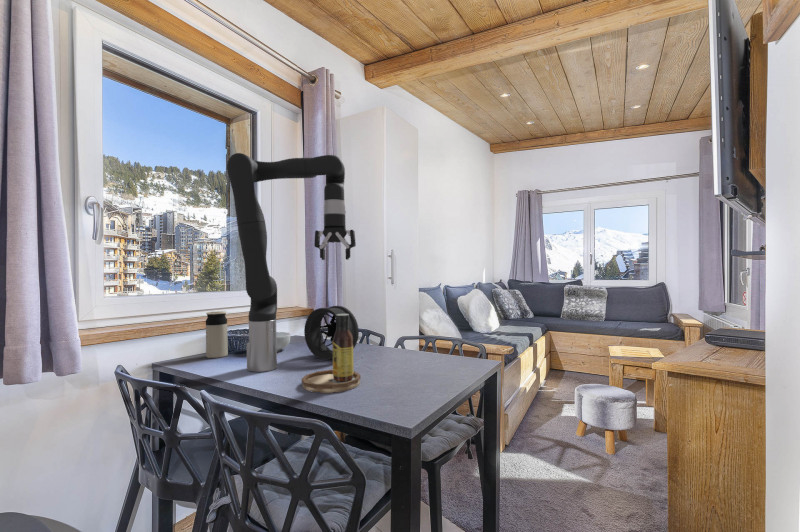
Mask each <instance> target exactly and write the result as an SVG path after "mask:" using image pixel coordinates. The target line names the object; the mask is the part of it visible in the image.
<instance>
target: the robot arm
mask: <svg viewBox="0 0 800 532" xmlns="http://www.w3.org/2000/svg"><path fill="white" fill-rule="evenodd" d="M226 170H227V172H226V173H227V175H228V178H229V183H230V186H231V190H232V194H233V201H234V209H235V217H236V225H237V229H238V230H237V231H238V238H239V242H240V248H241V254H242V256H243V261H244V262H243V263H244V273H245V274H244V275H245V291H246V293H247V294H246V295H247V296H248V297H249V298H250V308H249V312H248V342H247V343H246V371H247V372H248V371H250V372H253V373H254V372H255V373H256V372H257V373H259V372H261V373H262V372H268V371H269V372H270V371H273V370H275V369H277V368H278V359H277V358H278V351H277V340H276V332H277V311H278V285H277V281H276V280H275V279H274V278H273V277H272V276H270V272H269V271H270V270H269V268H268V261H267V251H268V233H267V225H266V219H265V216H264V212H263V210H262V208H261V205H260V202H259V200H258V197H257V195H256V190H255V184H254V183H259V182H263V181H264V182H265V181H270V180H281V179H283V180H284V179H314V178H316V177H318V176H325V186H324V188H323V190H324V192H323V193H324V194H323V195H324V196H323V197H324V198H323V199H324V201H323V230H315V231H314V247H315V248H317V249H319V258H320V259H321V260H322V261H325V260H326V249H325V248H326V247H327V246H329V243H332V244H333V243H334V244H335V243H342V244H343V245H344V247H345V260H347V261H349V260H350V258H351V249H352V248H355V247H356V233H355V230H354V229H350V230H347V228H346V211H347V210H346V205H345V187H344V186H345V177H346V176H345V175H346V169H345V165H344V163H343V161H342V159H341V158H340V157H339V156H337V155H335V154H325V155H320V156H315V157H293V158H292V157H291V158H286V159H282V160H279V161H278V160H277V161H262V160H261V161H259V160H254V159H253V158H252V157H250V156H248V155H247V154H244V153H241V152H236V153H233V154H231V155H230V156H229V158H228V160H227V163H226ZM347 235H348V237H349V239H350V244H349V242H348V241H347V239H346V238H345V237H346V236H347ZM322 236H324V239H323V240H322V242H321V237H322ZM320 242H321V243H320Z"/></svg>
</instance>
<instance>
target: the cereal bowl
mask: <svg viewBox="0 0 800 532" xmlns="http://www.w3.org/2000/svg"><path fill="white" fill-rule="evenodd" d="M276 340H277V352H279V351H281V350H282V349H285V348H286V347H287V346H289V343H290V341H291V333H290V332H285V331H284V332H283V331H276Z"/></svg>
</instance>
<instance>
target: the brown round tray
mask: <svg viewBox="0 0 800 532" xmlns="http://www.w3.org/2000/svg"><path fill="white" fill-rule="evenodd" d="M361 376H362V375H361V374H360V373H359V372H357V371H354V374H353V379H352V380H350V381H343V382H340V381H336V380H334V377H333V369H328V370H327V369H326V370H318V371H315V372H311V373H307V374H305V375H304V376H303V377H302V378H301V384H302V388H303V389H304V390H305V389H306V390H305V391H307V390H308V391H307V392H310V391H312V392H311V393H315V392H320V393H319V394H332V393H333V392H335V393H342V392H346V391H350V390H353V389H355V388H357V387H359V385H360V384H361Z"/></svg>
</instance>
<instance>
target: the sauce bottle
mask: <svg viewBox="0 0 800 532" xmlns="http://www.w3.org/2000/svg"><path fill="white" fill-rule="evenodd" d="M335 319H336V331H335V334H334V337H333V340H332V342H331V343H332V344H331V346H332V351H333V358H332V370H333V377H334V380H336V381H340V382H343V381H350V380H352V379H353V374H354V370H355V369H354V349H353V336H352V333H351V332H350V330H349V314H337V315H336V318H335Z"/></svg>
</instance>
